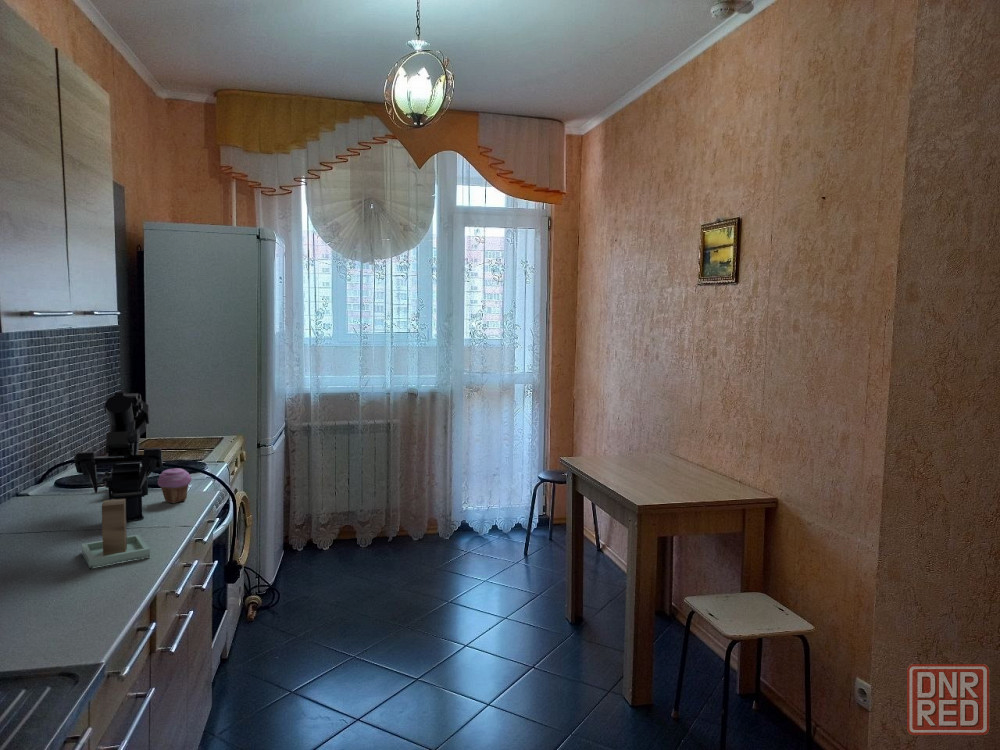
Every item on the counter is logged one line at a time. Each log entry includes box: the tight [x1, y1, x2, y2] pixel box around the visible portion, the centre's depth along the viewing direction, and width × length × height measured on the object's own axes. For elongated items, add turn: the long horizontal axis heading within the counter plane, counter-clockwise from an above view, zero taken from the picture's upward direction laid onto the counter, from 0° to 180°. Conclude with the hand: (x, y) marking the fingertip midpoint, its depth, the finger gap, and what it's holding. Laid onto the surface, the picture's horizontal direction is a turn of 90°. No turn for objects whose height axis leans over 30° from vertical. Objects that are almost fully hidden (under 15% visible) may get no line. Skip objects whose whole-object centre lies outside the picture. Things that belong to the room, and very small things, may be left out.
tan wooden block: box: [101, 499, 128, 556], centre depth 154 cm, size 4×4×12 cm
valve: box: [101, 471, 112, 489], centre depth 204 cm, size 7×7×12 cm
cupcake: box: [157, 467, 192, 504], centre depth 197 cm, size 9×9×10 cm
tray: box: [81, 534, 151, 569], centre depth 154 cm, size 12×12×2 cm
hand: (117, 490), depth 160 cm, fingers open, 9 cm apart
